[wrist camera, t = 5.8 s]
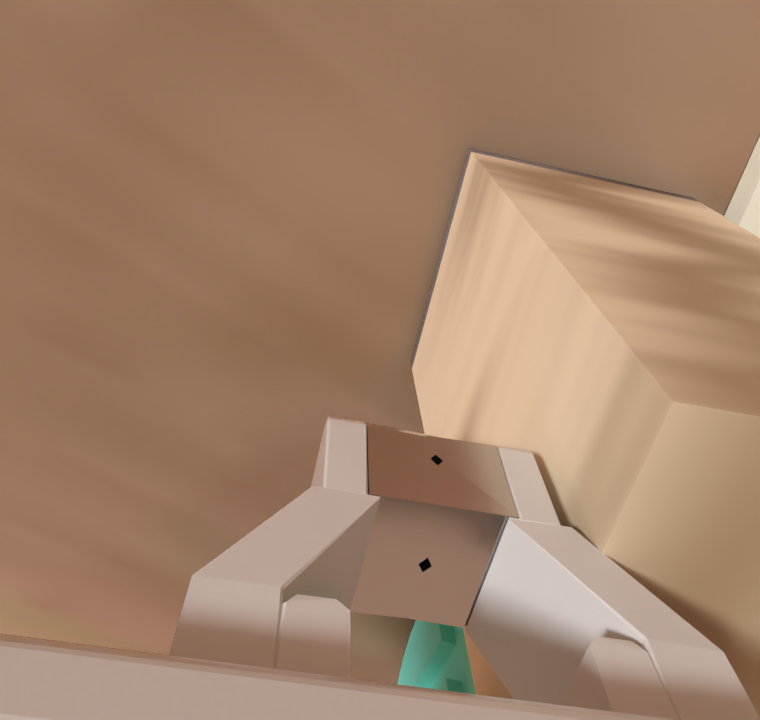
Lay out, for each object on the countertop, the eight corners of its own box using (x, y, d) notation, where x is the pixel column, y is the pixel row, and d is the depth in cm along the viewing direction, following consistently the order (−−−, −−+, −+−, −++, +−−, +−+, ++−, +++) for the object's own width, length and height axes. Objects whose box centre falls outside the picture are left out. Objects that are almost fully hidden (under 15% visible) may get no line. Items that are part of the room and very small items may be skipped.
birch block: (692, 198, 18) (1181, 489, 8) (608, 396, 21) (887, 816, 10) (468, 148, 17) (673, 400, 7) (410, 362, 20) (493, 783, 10)
